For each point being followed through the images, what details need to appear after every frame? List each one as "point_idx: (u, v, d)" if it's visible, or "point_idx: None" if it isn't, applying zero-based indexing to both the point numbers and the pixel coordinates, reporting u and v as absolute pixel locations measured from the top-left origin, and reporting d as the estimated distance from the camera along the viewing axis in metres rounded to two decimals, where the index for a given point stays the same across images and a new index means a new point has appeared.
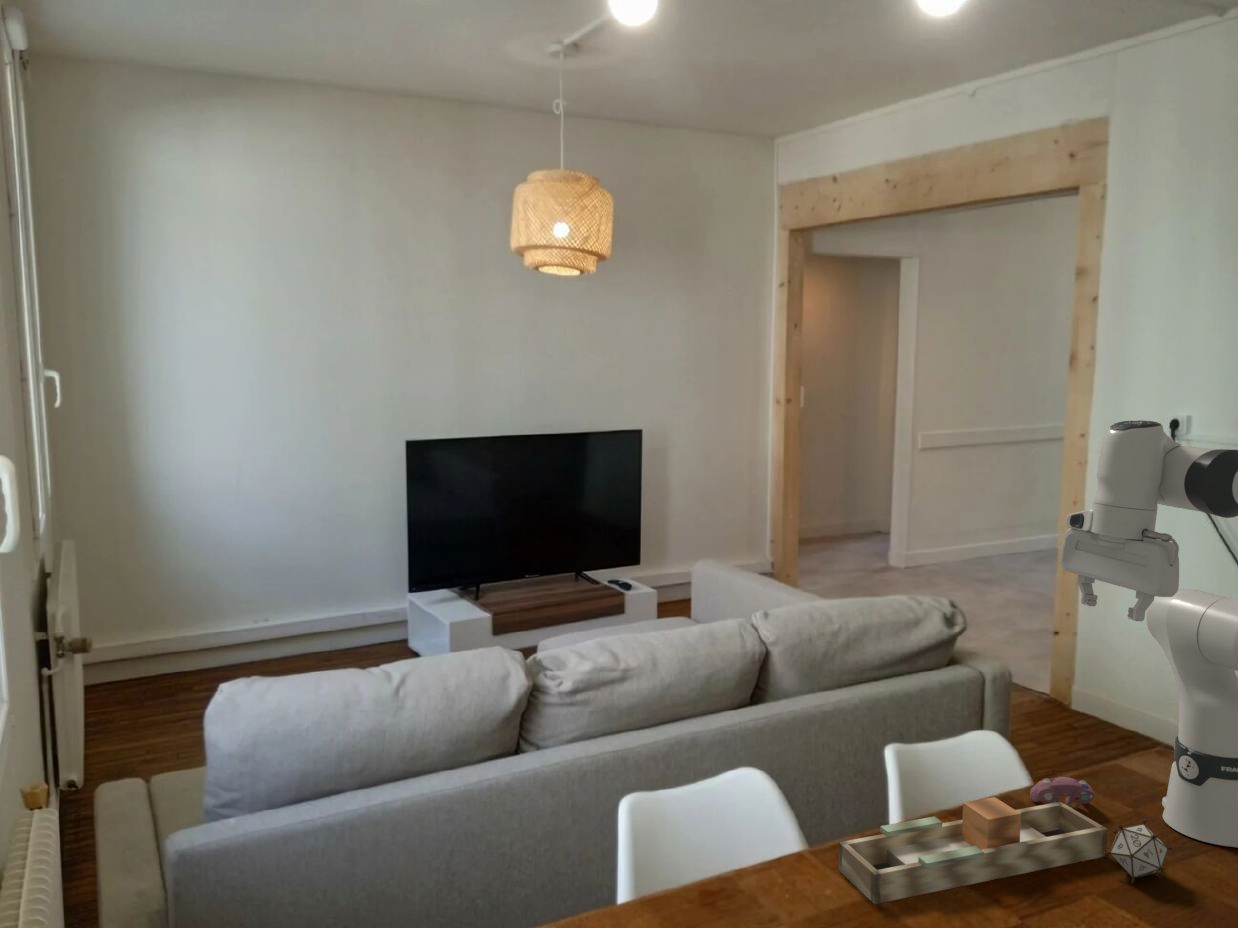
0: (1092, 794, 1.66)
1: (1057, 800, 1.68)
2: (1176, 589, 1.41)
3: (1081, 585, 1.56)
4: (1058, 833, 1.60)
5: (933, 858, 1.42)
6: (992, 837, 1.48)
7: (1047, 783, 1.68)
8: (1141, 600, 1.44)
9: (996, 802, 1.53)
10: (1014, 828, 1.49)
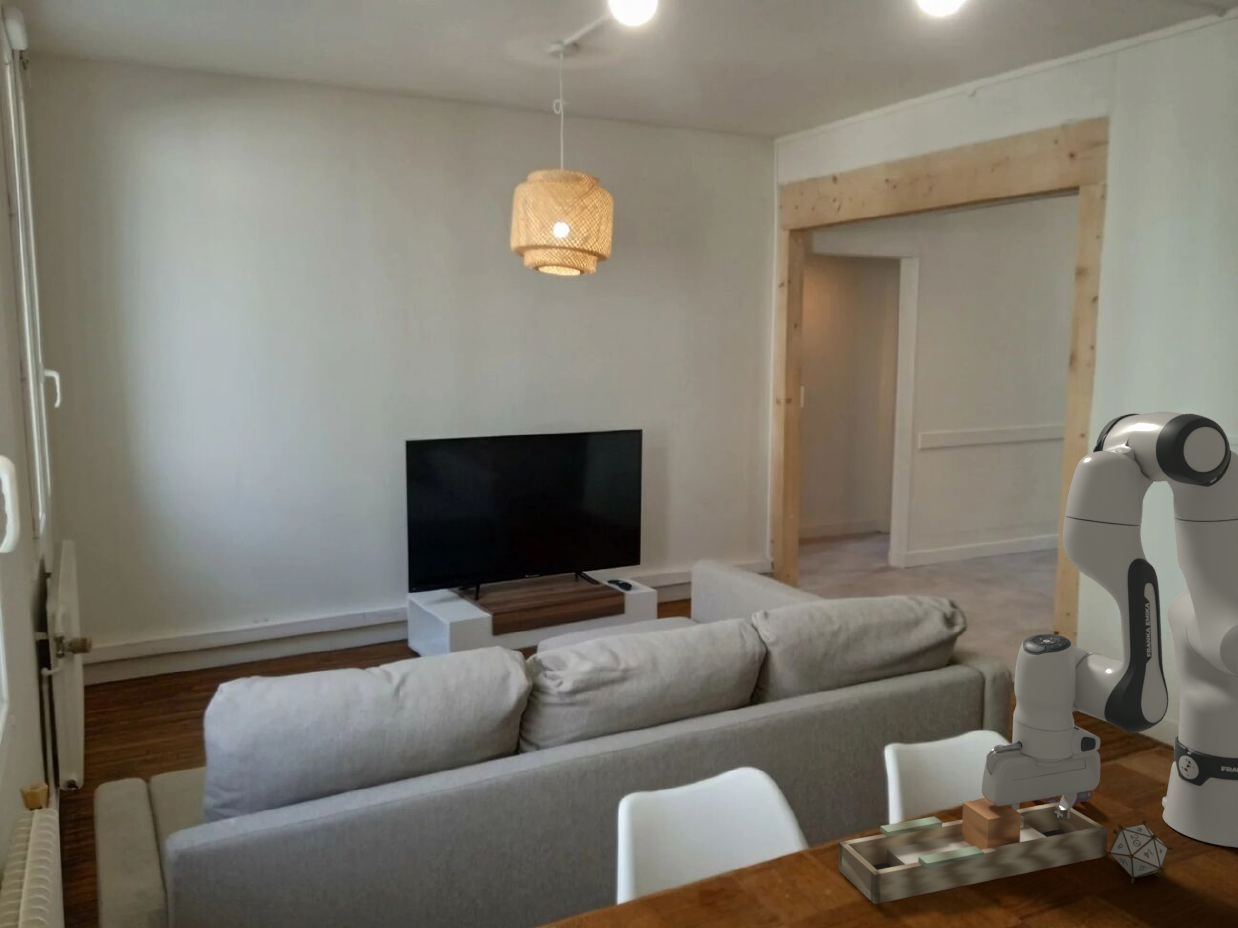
0: (1090, 792, 1.67)
1: (1055, 798, 1.69)
2: (993, 798, 1.50)
3: (1062, 796, 1.57)
4: (1058, 833, 1.60)
5: (933, 858, 1.42)
6: (992, 837, 1.48)
7: None
8: None
9: None
10: (1014, 828, 1.49)
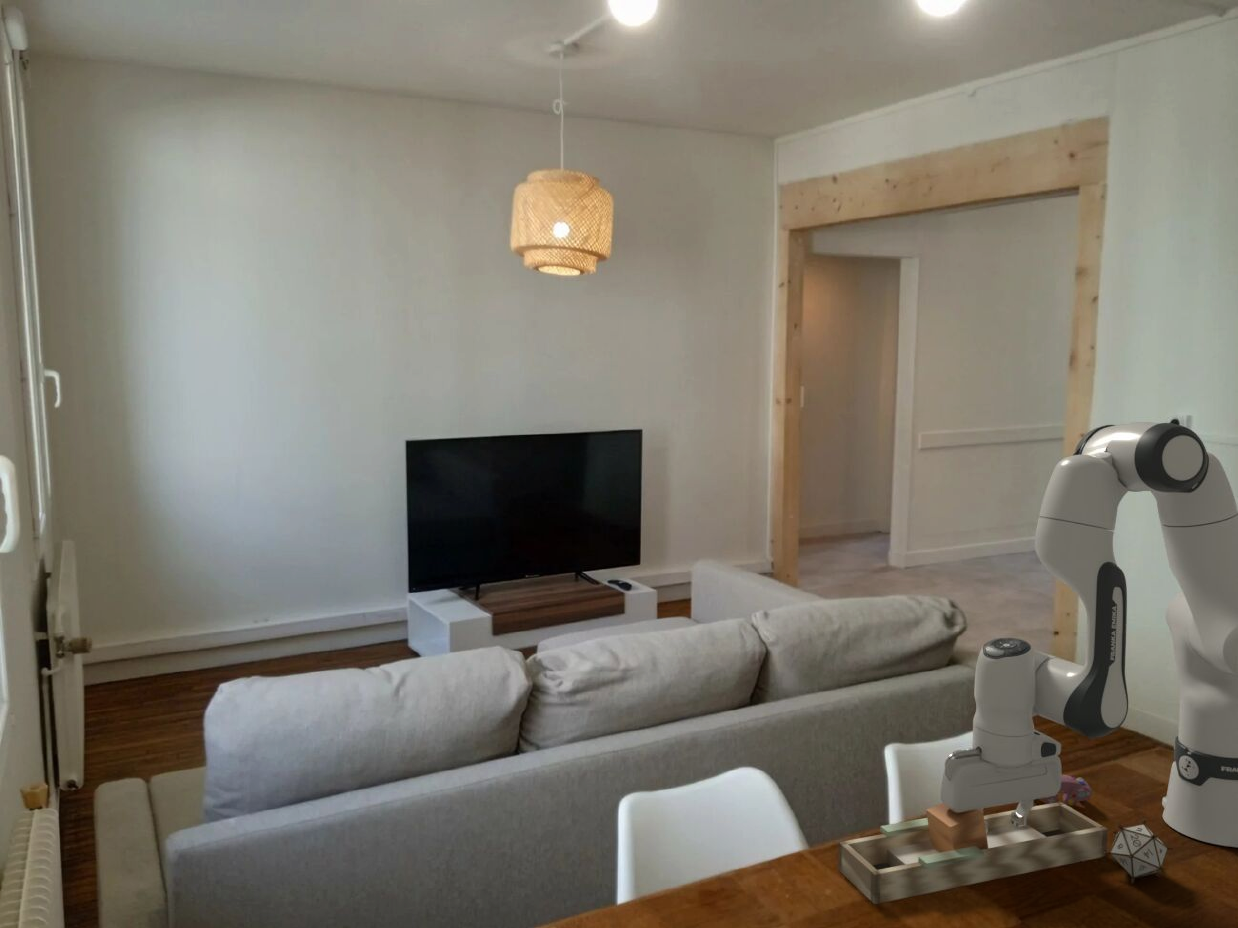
0: (1089, 791, 1.68)
1: (1054, 797, 1.69)
2: (951, 804, 1.47)
3: (1019, 803, 1.54)
4: (1058, 833, 1.60)
5: (933, 858, 1.42)
6: (957, 842, 1.46)
7: None
8: None
9: None
10: (979, 829, 1.47)
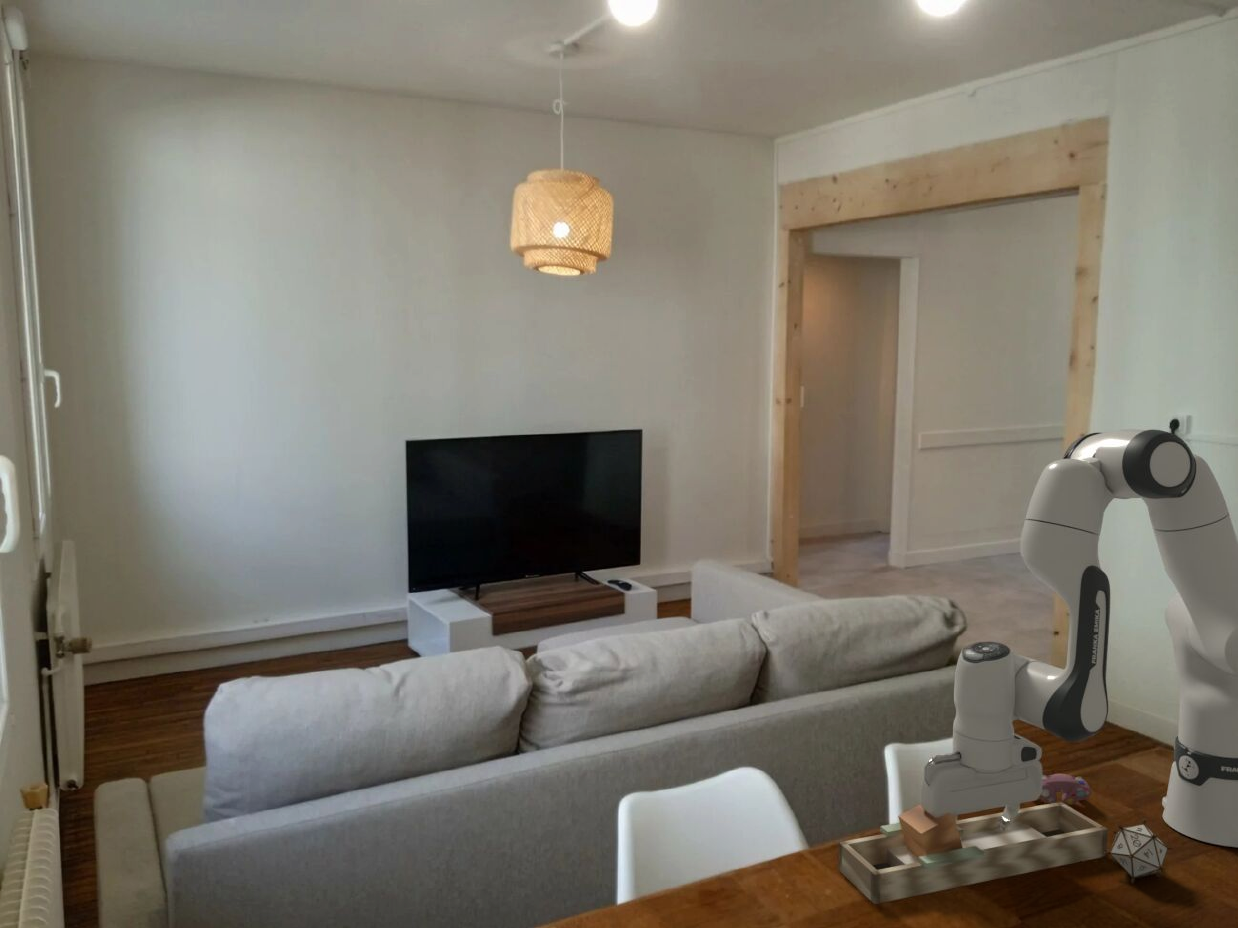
0: (1088, 790, 1.68)
1: (1054, 796, 1.70)
2: (930, 810, 1.46)
3: (1006, 807, 1.53)
4: (1058, 833, 1.60)
5: (933, 858, 1.42)
6: (930, 848, 1.45)
7: (1044, 780, 1.69)
8: None
9: None
10: (951, 832, 1.45)
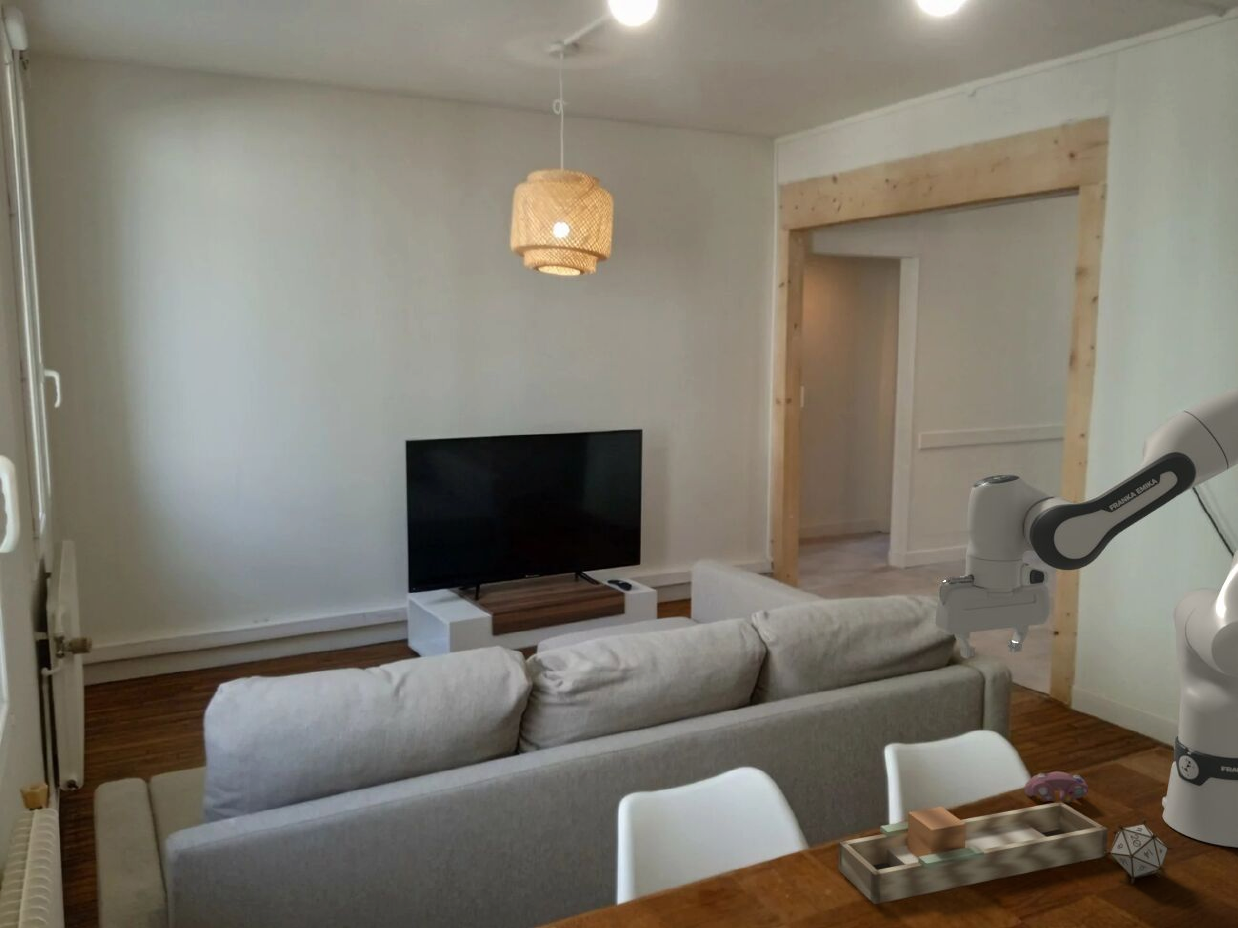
0: (1086, 788, 1.69)
1: (1051, 794, 1.71)
2: (945, 626, 1.57)
3: (1015, 632, 1.64)
4: (1058, 833, 1.60)
5: (933, 858, 1.42)
6: (936, 847, 1.45)
7: (1042, 778, 1.70)
8: None
9: (942, 812, 1.50)
10: (959, 839, 1.46)
